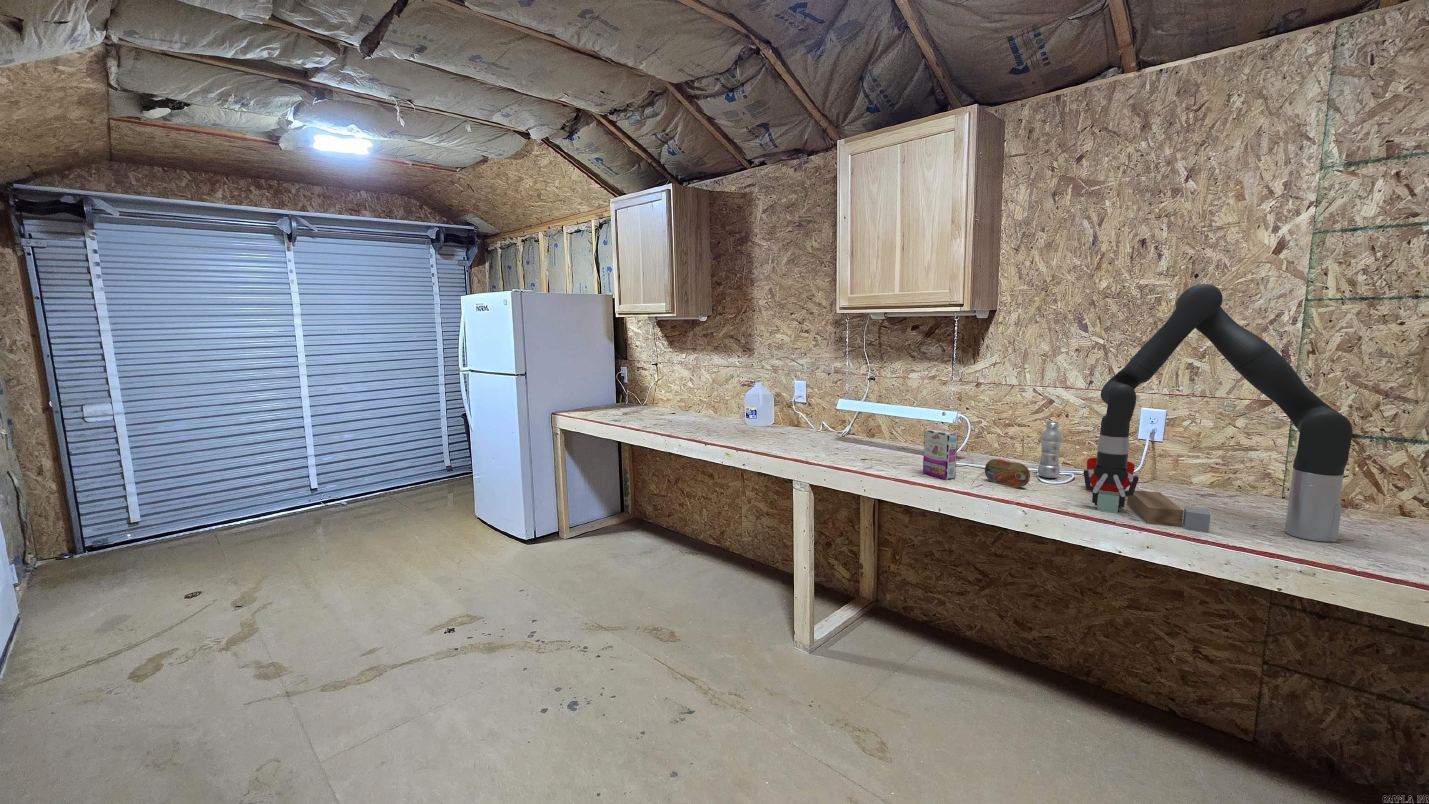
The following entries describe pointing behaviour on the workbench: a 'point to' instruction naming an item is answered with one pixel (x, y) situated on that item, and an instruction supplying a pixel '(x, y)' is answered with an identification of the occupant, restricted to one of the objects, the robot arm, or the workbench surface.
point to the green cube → (1108, 501)
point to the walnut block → (1155, 508)
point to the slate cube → (1196, 519)
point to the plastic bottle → (1050, 451)
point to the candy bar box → (940, 453)
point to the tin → (1007, 473)
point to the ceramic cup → (1108, 487)
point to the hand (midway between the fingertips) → (1107, 506)
